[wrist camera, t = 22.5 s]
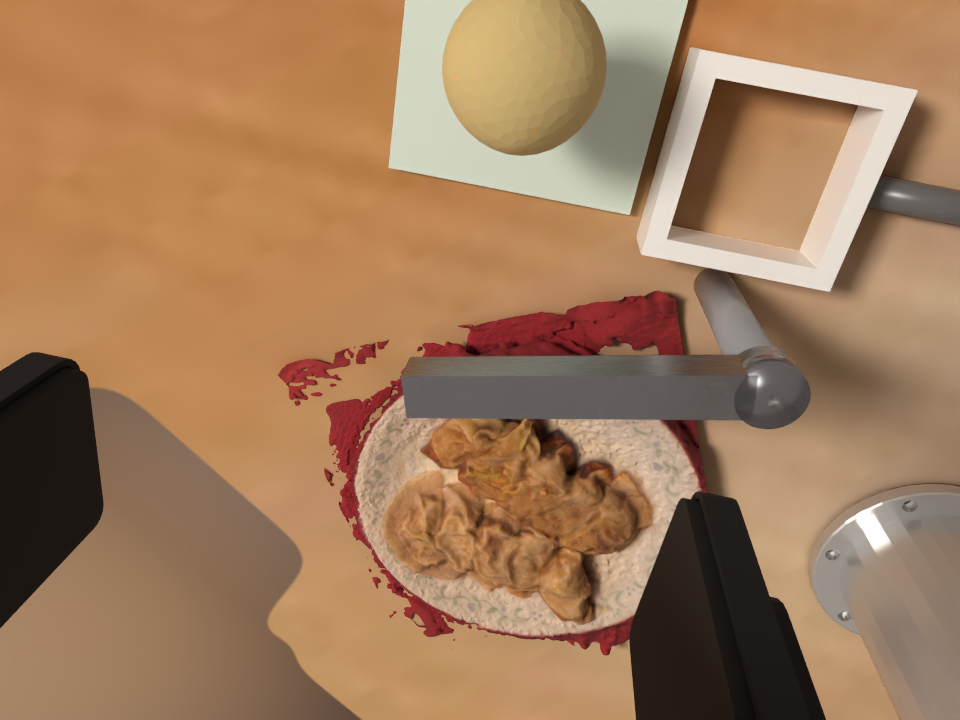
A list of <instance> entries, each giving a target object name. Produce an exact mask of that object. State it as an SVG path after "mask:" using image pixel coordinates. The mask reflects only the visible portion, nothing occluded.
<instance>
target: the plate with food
mask: <svg viewBox="0 0 960 720" xmlns="http://www.w3.org/2000/svg"><path fill="white" fill-rule="evenodd" d="M566 313H567V314H565V315H562V316H557V315H555V314H552V313H543V312H539V313H535V314H528V315H523V316H517V317H512V318H507V319H502V320H498V321H492V322H487V323H484V324H480V325H477V326H473V325H472V324H469V325H462V326H458V327H464V328H469V329H470V333H469V335H468V343H467V346H466V347H463V346H462V345H460V344H453V343H450V342H446V345H445V346H442V345H439V344H436V343H424V344H423V345H422V346H423V347H424V348H425V353H424V355H423V356H422V357H478V356H595V355H594V354H593V352H594V353H595V354H596V353H598V352H600V349H601V348H603V347H604V346H605V345H606V346H612V345H613V344H614V343H615V342H614V341H613V338H617V339H618V341H619V342H621V343H628V344H631V345H632V349H633V350H637V349H639V348H640V347H643V348H645V347H646V346H648V345H650V344H651V343H654V344H655V345H656V346H657V348H658V351H659V355H684V353H683V347H682V341H681V335H680V328H679V322H678V316H677V308H676V302H675V299H674V298H672V297H669V296H668V295H667V294H666V293H663V292H660V291H654V292H652V293H649V294H647V295H646V296H637V297H636V296H630V297H624V299H622V300H619V301H609V302H595V303H590V304H587V305H582V306H576V307H574V308H571V309H568V310H567V312H566ZM388 341H389V340H388ZM388 341H385V342H377V346H378V349H384V346H385V345H387V343H388ZM367 345H368V344H367ZM367 345H363V346H360V347H362V348H363V349H361V350H359V351H358V354H357V356H356V357H357V358H356V363H357V364H366V362H365V360H366V357H373V358H376V354H375V343H374V344H372V345H370V346H369V345H368V346H369V347H367ZM354 348H355V347H354ZM419 350H421V347H418V349H417V351H419ZM345 351H348V354H349V355H350V356H351V358H353V355H354V353H353V352H351V351H350V350H349V348H348V349H345V350H343V351H340V352H337V353H335V359H334V364H327V363H325V362H321V361H317V360H310V359H306V360H300V361H296V362H293V363H290V364H287V365H285V367H284V368H283V369H282V370H281V371H280V373H279V375H278V376H279V377H280V378H281V379H282V380H283V381H284V382H285V383H286V385H288V387H289V397H290V399H291V400H294V399H295V398H296V397H298V398H301V399H304V400H308V397H307V395H303V393H302V391H301V389H305V388H306V385H315V383H316V381H315V380H313V379H306V377H307V376H314V374H315V377H316V378H319V377H323V378H326V379H327V378H332V379H336V380H340V379H339V378H338V375H334V376H330V375H329V374H328V373H327V372H326V370H328V369H334V368H338V367H345V366H349V365H350V359H346V358H345V356H344V353H345ZM305 368H308V370H307V371H303V369H305ZM404 369H405V368H404ZM404 369H403V371H404ZM403 371H402V372H401V374H402V373H403ZM400 378H401V376H400ZM289 382H293V383H298V382H303V383H304V385H301V386H290V385H289V384H288V383H289ZM391 385H392V387H386V388H385V389H384V390H381V391H379V392H377V393H376V394H375V395H374V396H371V399H372V401H371V400H369V399H365V400H364V402H361V401H360V400H359V399H353V400H349V401H342V402H337V403H332V404H330V405H329V406H327V408H326V412H327V414H328V415H329V417H330V420H331V428H330V435H329V443H330V446H333V445H334V444H335V445H336V446H337V448H336V449H335V451H336V450H338V451H339V453H337V456H336V458H339V459H340V462H339V464H337V465H338V467H337V468H339V467H340V468H341V471H342V472H344V473H346V472H347V473H346V475H347V476H346V478H347V479H348V480H349V481H347V483H346V484H345V485H344V488H343V489H342V490H341V491H340V495H341V496H342V499H343V500H342V504H340V502H339V506H340V509H341V511H342V513H343V515H344V516H345V517H346V520H347V522H348V523H349V520H348V517H349V518H350V519H351V518H352V517H353V516H355V519H356V521H357V524H355V525H354V523H353V525H352V526H353V530H354V531H353V536H354V537H355V538H356V541H357V540H361V541H362V542H363V543H364V544H365V545H366V546H367V547H368V548H370V549H371V550H372V548H373V551H372V554H373V555H374V561H375V562H376V563H377V564H378V567H380V568H385V569H386V570H387V571H386V570H381V571H380V572H381V573H383V574H385V575H386V577H387V578H388V581H390V583H391V584H388V585H387V588H389V589H392V593H396V595H400V596H401V597H404V598H407V599H408V600H409V602H410V604H411V607H405V608H404V610H405V612H404V615H405V616H406V617H408V618H410V619H412V614H414V613H417V615H419V616H420V618H421V620H422V621H423V623H424V624H425V626H418V625H417V624H416V623H415V624H416V625H417V626H418V627H424V628H427V629H426V630H425V631H424V632H423V633H424V634H425V635H426V636H428V637H434V636H438V635H441V634H449V633H453V631H454V630H453V629H451V628H449V627H448V625H447V624H446V622H445V621H444V618H443V617H441V615H444V616H446V619H447V621H448V622H452V623H454V622H453V621H454V620H455V621H456V622H457V623H458V624H461V625H464V624H469V626H468V628H470V629H471V628H472V627H471V624H477V625H478V627H477V629H478V630H487V631H488V632H491V633H495V634H498V633H499V634H501V635H509V636H515V637H517V638H524V639H541V640H544V639H545V638H549V639H551V640H559V641H565V640H566V641H568V642H569V643H571V644H572V645H574V642H575V641H576V642H578V643H579V644H580V646H581V647H582V648H583V649H587V648H588V647H589V646H590V643H592V642H594V641H598V642H599V643H600V648H601V652H602V653H603V655H609V653H610V650H611V647H612V646H616V645H618V644H621V643H624V642H626V641H627V640H629V639H630V630H631V624H632V621H633V618H634V615H635V612H636V610H637V607H638V605H639V602H640V599H641V597H642V594H643V592H644V589H645V586H646V584H647V581H648V579H649V576H650V573H651V571H652V568H653V566H654V563H655V561H656V558H657V555H658V553H659V550H660V548H661V545H662V542H663V540H664V537H665V535H666V532H667V529H668V527H669V524H670V522H671V519H672V516H673V514H674V511H675V509H676V506H677V504H678V502H679V500H680V499H681V498H687V499H691V498H692V496H693V495H694V493H695V492H697V491H700V492H705V493H707V489H706V483H705V476H704V471H703V464H702V459H701V453H700V449H699V444H698V437H697V431H696V425H695V420H621V419H462V418H407V417H406V410H405V403H404V395H403V388H402V381H401V379H400V380H399V379H398V381H391ZM330 386H331V387H333V386H336V384H330ZM395 386H397V387H398V388H394V387H395ZM398 389H399V390H398ZM392 390H397V391H398V394H394V396H391V393H392ZM311 395H312V396H321V395H322V393H320V392H317V393H312V394H311ZM390 396H391V397H390ZM389 397H390V402H389V403H387V404H386V405H385V406H381V405H382V404H383V402H385V401H386V400H387V399H388V398H389ZM368 403H370V405H368ZM295 405H296V406H298V405H300V401H295ZM370 406H371V407H370ZM380 406H381V407H382V408H383V409H382V412H381V413H382V415H381V417H380V418H378V419H377V420H375V421H373V423H370V427H371V428H370V430H369V431H367V432H366V433H365V435H364V437H363V441H361V442H360V443H361V444H359V441H358V440H359V439H360V438H361V436H360V432H361V431H362V430H364V427H365V426H366V424H367V422H369V417H370V416H371V414H372V413H374V412H375V411H376V408H379V407H380ZM372 419H374V418H372ZM357 445H358V448H356V446H357ZM335 451H334V452H335ZM335 453H336V452H335ZM332 455H334V453H333V454H332ZM337 461H338V460H337ZM333 464H336V463H335V462H334V463H333ZM339 470H340V469H339ZM324 471H325V475H326V478H327V480H328V482H330V480H332V476H331V473H330V472H329V471H328V470H327V469H325V468H324ZM336 472H339V471H336ZM330 485H331V486H333V485H334V484H333V483H331V482H330ZM355 502H356V503H355ZM350 527H351V526H350ZM367 558H368V557H367ZM369 572H371V569H369ZM373 581H374V583H375V585H376V587H377V589H378V583H380V582H381V580H380V579H379V578H377V577H374V578H373ZM403 588H404V589H405V590H407V591H408V593H410V594H412V595H413V597H411V596H408V595H407V593H403V591H404V589H403ZM415 597H416V598H415ZM438 611H439V612H440V613H439V612H438ZM395 613H396V611H394V612H393V614H392V615H389V616H390V618H391V617H392V616H393V615H394V614H395ZM485 637H486V636H485ZM453 641H454V640H453ZM574 646H575V645H574Z"/></svg>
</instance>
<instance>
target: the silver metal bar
mask: <svg viewBox="0 0 960 720" xmlns="http://www.w3.org/2000/svg"><path fill="white" fill-rule="evenodd" d="M401 381H402V388H403V395H404V403H405V410H406V417H407V418H462V419H621V420H743V421H744V422H745V423H747V424H749V425H751V426H753V427H756V428H761V429H775V428H780V427H783V426H786V425H788V424H790V423H792V422H793V421H795V420H796V419H798V418H799V417H800V416H801V415H802V414H803V412H804V411H805V410H806V408H807V406H808V404H809V401H810V387H809V385H808V382H807V381H806V379H805V378H804V376H803V374H802V373H801V371H800V370H799V368H798V367H797V365H796V363H795V362H794V360H793V359H792V357H791V356H790V355H789V354H788V353H787V352H785V351H784V350H782V349H780V348H777V347H773V346H756V347H752V348H749V349H747V350H745V351H743V352H741V353H740V354H738V355H625V356H478V357H410V359H409V361H408V363H407V365H406V367H405V369H404V371H403V373H402V375H401Z"/></svg>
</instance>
